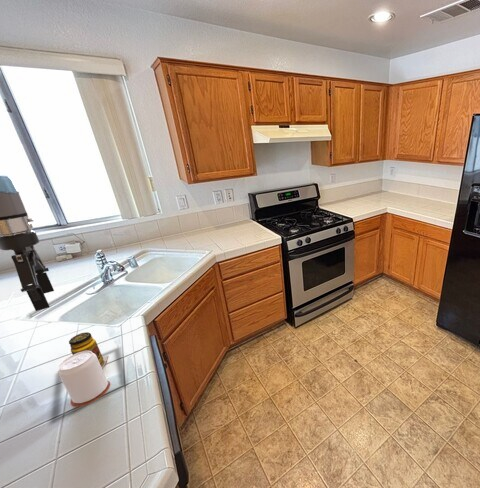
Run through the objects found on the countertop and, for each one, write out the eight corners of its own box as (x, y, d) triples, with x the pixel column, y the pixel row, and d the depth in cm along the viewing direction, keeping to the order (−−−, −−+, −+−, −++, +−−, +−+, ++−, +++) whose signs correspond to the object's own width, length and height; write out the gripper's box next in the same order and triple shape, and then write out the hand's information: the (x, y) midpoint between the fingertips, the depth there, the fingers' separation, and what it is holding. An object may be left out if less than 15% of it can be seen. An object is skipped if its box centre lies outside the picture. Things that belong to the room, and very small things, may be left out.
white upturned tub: (66, 400, 74) (49, 367, 70) (98, 378, 81) (84, 346, 77) (83, 408, 71) (66, 374, 67) (114, 385, 78) (101, 352, 74)
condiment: (102, 370, 84) (89, 339, 81) (68, 380, 81) (53, 349, 77) (108, 355, 91) (96, 326, 87) (77, 365, 87) (63, 335, 83)
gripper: (26, 238, 66) (59, 311, 73) (40, 223, 84) (65, 282, 91) (-20, 246, 61) (19, 323, 68) (5, 228, 79) (34, 290, 86)
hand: (45, 300), depth 79 cm, fingers open, 13 cm apart
